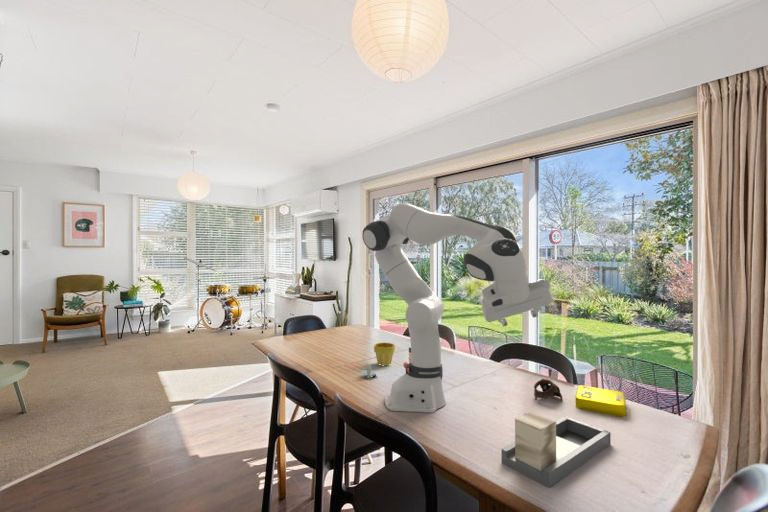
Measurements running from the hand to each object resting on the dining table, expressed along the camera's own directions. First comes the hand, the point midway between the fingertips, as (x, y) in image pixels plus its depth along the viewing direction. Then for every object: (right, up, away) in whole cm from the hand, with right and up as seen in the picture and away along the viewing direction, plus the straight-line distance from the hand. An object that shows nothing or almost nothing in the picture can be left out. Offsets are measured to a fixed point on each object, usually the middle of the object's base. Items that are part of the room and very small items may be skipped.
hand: (519, 320), depth 112 cm
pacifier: (-49, -35, +50) cm, 78 cm away
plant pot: (-42, -35, +68) cm, 87 cm away
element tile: (+36, -34, +17) cm, 52 cm away
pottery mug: (+20, -34, +24) cm, 46 cm away
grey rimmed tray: (+5, -34, -14) cm, 37 cm away
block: (-4, -32, -21) cm, 38 cm away
